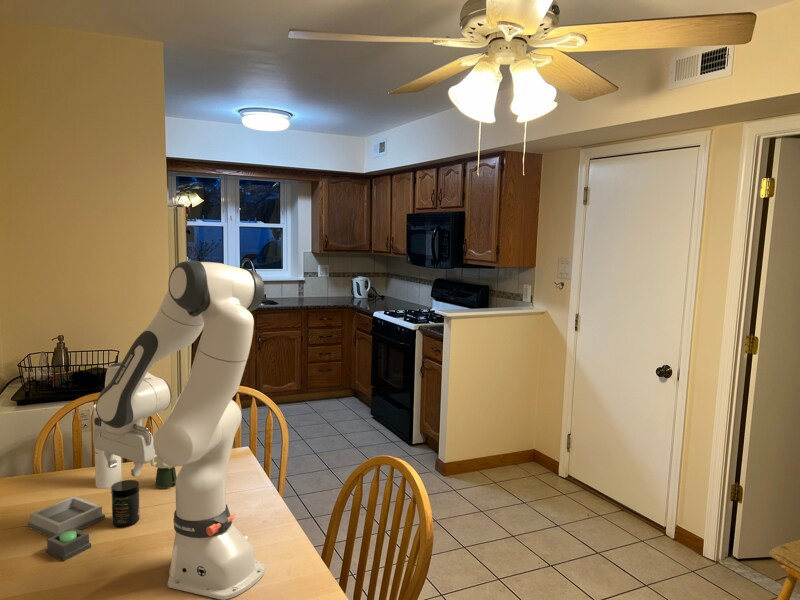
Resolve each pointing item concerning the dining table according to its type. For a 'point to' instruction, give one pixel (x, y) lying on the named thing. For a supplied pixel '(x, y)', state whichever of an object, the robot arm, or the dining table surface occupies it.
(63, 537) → the button
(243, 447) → the dining table surface
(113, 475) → the cylindrical container
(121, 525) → the supplement container
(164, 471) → the character mug
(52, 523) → the square shallow tray
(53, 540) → the button housing
